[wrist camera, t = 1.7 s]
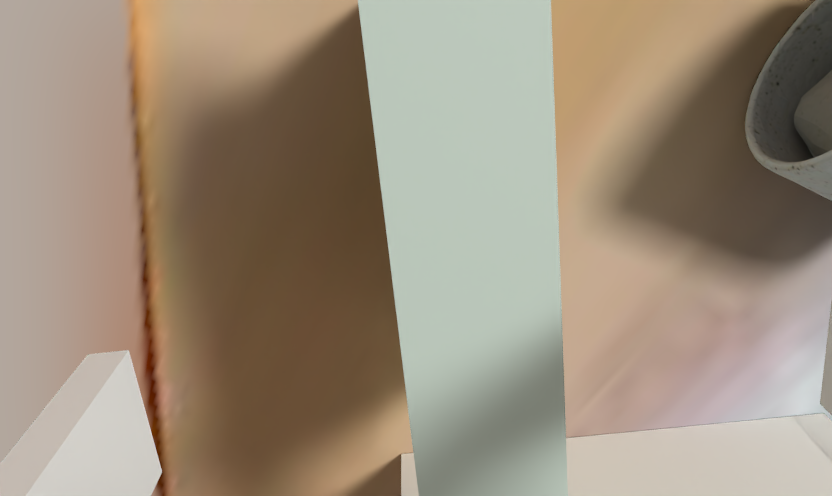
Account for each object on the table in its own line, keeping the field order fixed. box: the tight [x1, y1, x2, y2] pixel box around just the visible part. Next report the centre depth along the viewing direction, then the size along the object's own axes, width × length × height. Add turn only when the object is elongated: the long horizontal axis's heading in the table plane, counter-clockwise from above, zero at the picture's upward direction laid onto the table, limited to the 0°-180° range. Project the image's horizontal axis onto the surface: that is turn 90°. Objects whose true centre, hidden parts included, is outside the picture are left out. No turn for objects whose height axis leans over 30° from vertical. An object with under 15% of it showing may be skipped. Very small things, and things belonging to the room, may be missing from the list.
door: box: [358, 0, 568, 496], centre depth 23 cm, size 4×20×12 cm, turn 6°
